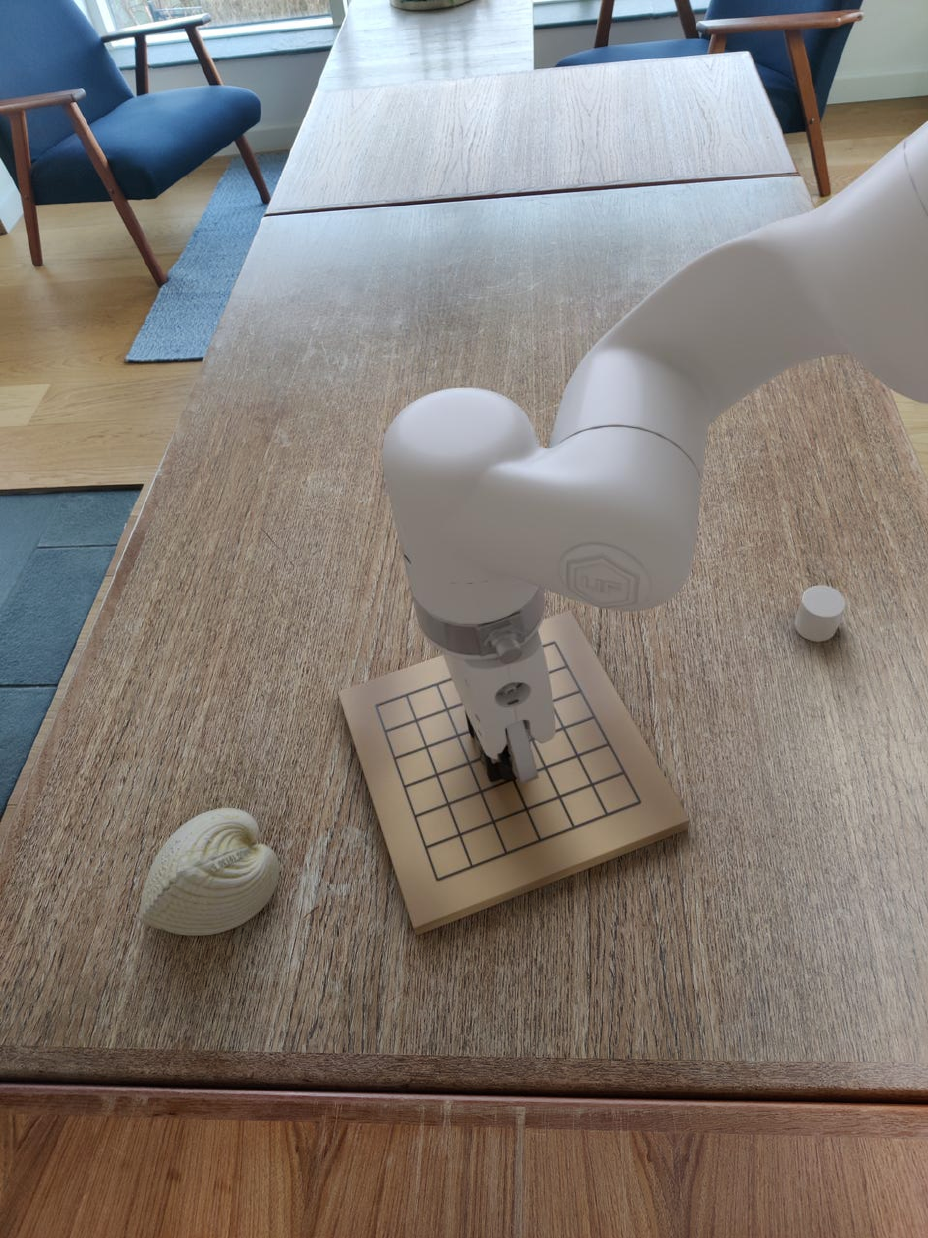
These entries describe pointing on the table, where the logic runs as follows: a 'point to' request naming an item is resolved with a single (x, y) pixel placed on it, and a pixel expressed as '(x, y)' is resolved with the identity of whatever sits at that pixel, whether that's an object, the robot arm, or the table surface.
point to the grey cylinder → (819, 613)
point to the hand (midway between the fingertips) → (499, 749)
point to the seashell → (209, 875)
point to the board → (504, 784)
